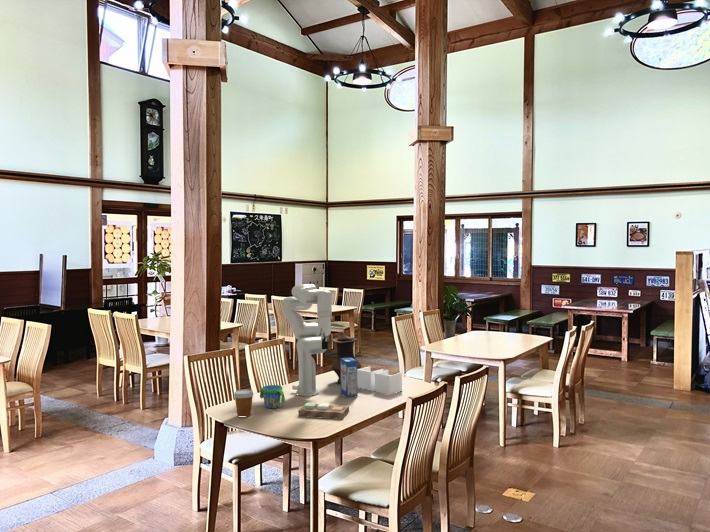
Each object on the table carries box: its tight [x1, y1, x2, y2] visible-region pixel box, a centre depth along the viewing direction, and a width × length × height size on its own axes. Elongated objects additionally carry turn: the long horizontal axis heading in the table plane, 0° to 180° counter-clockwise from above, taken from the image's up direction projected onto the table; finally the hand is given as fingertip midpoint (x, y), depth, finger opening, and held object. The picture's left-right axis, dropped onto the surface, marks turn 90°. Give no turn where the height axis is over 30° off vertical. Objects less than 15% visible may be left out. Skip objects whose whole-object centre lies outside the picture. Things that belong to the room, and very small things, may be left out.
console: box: [297, 403, 350, 420], centre depth 268 cm, size 23×12×3 cm, turn 77°
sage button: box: [303, 402, 318, 409], centre depth 270 cm, size 5×5×3 cm
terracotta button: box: [331, 406, 344, 411], centre depth 267 cm, size 5×5×3 cm
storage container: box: [357, 366, 403, 396], centre depth 313 cm, size 25×11×11 cm, turn 46°
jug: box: [330, 331, 363, 385], centre depth 332 cm, size 21×18×30 cm
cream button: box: [318, 402, 331, 410], centre depth 268 cm, size 5×5×3 cm
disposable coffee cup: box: [233, 388, 254, 417], centre depth 267 cm, size 10×10×12 cm
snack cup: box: [259, 384, 286, 409], centre depth 282 cm, size 16×10×10 cm
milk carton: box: [340, 357, 359, 399], centre depth 302 cm, size 10×6×20 cm, turn 22°
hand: (325, 348), depth 285 cm, fingers closed
